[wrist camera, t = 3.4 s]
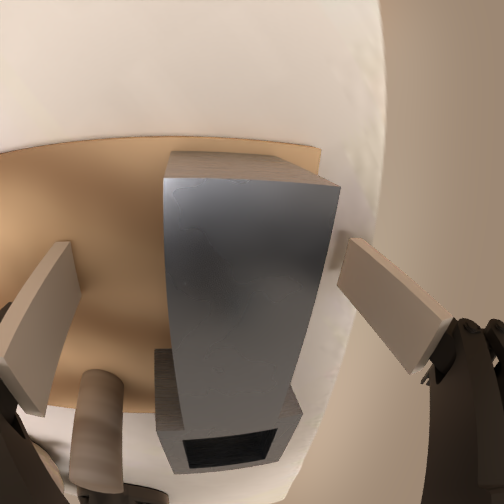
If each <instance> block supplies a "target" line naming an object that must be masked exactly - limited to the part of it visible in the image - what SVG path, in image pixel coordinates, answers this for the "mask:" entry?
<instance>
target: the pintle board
mask: <svg viewBox="0 0 504 504" xmlns="http://www.w3.org/2000/svg"><path fill="white" fill-rule="evenodd" d="M171 151H208V152H231V153H248V154H261V155H273V156H277V157H279V158H281V159H284V160H286V161H288V162H290V163H293V164H295V165H297V166H299V167H301V168H303V169H306V170H308V171H310V172H312V173H314V174H316V175H318V168H319V162H320V155H321V149H319V148H315V147H312V146H305V145H297V144H289V143H281V142H272V141H262V140H250V139H237V138H220V137H193V136H150V137H123V138H107V139H95V140H84V141H75V142H66V143H58V144H51V145H44V146H38V147H32V148H26V149H21V150H16V151H11V152H6V153H1V154H0V310H1V309H2V308H3V307H4V306H5V305H6V304H7V303H8V302H13V301H14V299H15V298H16V296H17V295H18V293H19V292H20V290H21V289H22V287H23V286H24V284H25V283H26V281H27V280H28V278H29V277H30V275H31V274H32V273H33V271H34V270H35V268H36V267H37V266H38V264H39V263H40V261H41V260H42V259H43V257H44V256H45V255H46V253H47V252H48V251H49V250H50V248H51V247H52V246H53V244H54V243H55V242H65V241H70V242H71V248H72V253H73V259H74V264H75V268H76V273H77V278H78V282H79V286H80V290H81V294H82V296H81V299H80V301H79V304H78V306H77V309H76V312H75V314H74V317H73V320H72V322H71V325H70V328H69V331H68V334H67V337H66V340H65V343H64V346H63V349H62V352H61V355H60V358H59V362H58V365H57V369H56V372H55V376H54V379H53V383H52V387H51V391H50V395H49V399H48V404H47V405H52V406H59V407H66V408H74V409H76V411H75V418H74V425H73V433H72V442H71V452H70V465H69V480H70V481H71V482H72V483H74V484H75V485H77V486H80V487H82V488H85V489H88V490H92V491H97V492H102V493H112V494H116V493H122V492H123V491H124V489H123V468H122V420H123V412H128V413H155V386H154V350H155V349H170V348H172V345H171V336H170V327H169V316H168V305H167V292H166V277H165V258H164V228H163V178H164V174H165V171H166V167H167V164H168V160H169V157H170V153H171Z"/></svg>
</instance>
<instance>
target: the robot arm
mask: <svg viewBox="0 0 504 504" xmlns="http://www.w3.org/2000/svg"><path fill="white" fill-rule="evenodd" d="M337 286H338V287H339V289H340V290H341V291H342V292H343V293H344V294H345V296H346V297H347V298H348V299H349V300H350V302H351V303H352V304H353V305H354V306H355V308H356V309H357V310H358V311H359V312H360V314H361V315H362V316H363V317H364V318H365V320H366V321H367V322H368V323H369V324H370V326H371V327H372V328H373V329H374V331H375V332H376V333H377V334H378V336H379V337H380V338H381V339H382V341H383V342H384V343H385V344H386V346H387V347H388V348H389V349H390V350H391V352H392V353H393V354H394V355H395V357H396V358H397V359H398V361H399V362H400V363H401V365H402V366H403V367H404V368H405V370H406V371H407V372H408V374H409V375H411V374H414V373H416V372H419V371H421V370H422V369H423V368H424V366H425V365H426V363H427V362H428V360H429V359H430V361H431V362H432V363H433V364H432V366H431V367H430V368H429V370H428V371H427V373H426V374H425V376H424V377H423V379H422V380H421V384H423V383H424V382H425V380H426V379H427V378H429V381H428V382H427V383H426V385H428V386H430V427H429V445H428V457H427V467H426V475H425V483H424V489H423V495H422V501H421V504H504V323H503V322H502V321H500V320H497V319H491V320H490V321H489V323H488V324H487V326H486V328H485V329H481V328H480V326H478V325H477V324H476V323H474V322H473V321H472V320H469V319H466V318H462V319H459V321H457V320H456V319H455V318H454V317H453V316H452V315H451V314H450V313H449V312H448V311H447V310H446V309H445V308H444V307H442V306H441V305H440V304H439V303H438V302H437V301H436V300H435V299H434V298H433V297H431V296H430V295H429V294H428V293H427V292H426V291H425V290H424V289H423V288H421V287H420V286H419V285H418V284H417V283H416V282H415V281H413V280H412V279H411V278H410V277H409V276H408V275H406V274H405V273H404V272H403V271H402V270H400V269H399V268H398V267H397V266H396V265H394V264H393V263H392V262H391V261H390V260H388V259H387V258H386V257H385V256H383V255H382V254H381V253H380V252H378V251H377V250H376V249H375V248H373V247H372V246H371V245H370V244H368V243H367V242H366V241H365V240H363V239H362V238H349V242H348V246H347V250H346V254H345V257H344V261H343V265H342V268H341V272H340V276H339V279H338V283H337ZM81 296H82V294H81V290H80V286H79V282H78V278H77V273H76V268H75V264H74V259H73V253H72V248H71V242H70V241H65V242H55V243H54V244H53V246H52V247H51V248H50V250H49V251H48V252H47V253H46V255H45V256H44V257H43V259H42V260H41V261H40V263H39V264H38V266H37V267H36V268H35V270H34V271H33V273H32V274H31V275H30V277H29V278H28V280H27V281H26V283H25V284H24V286H23V287H22V289H21V290H20V292H19V293H18V295H17V296H16V298H15V299H14V301H13V302H8V303H7V304H6V305H5V306H4V307H3V308H2V309H1V310H0V504H70V503H69V502H68V501H67V499H66V498H65V497H64V495H63V494H62V492H61V491H60V489H59V488H58V486H57V485H56V483H55V482H54V480H53V479H52V477H51V475H50V474H49V472H48V471H47V469H46V467H45V466H44V464H43V462H42V460H41V459H40V457H39V455H38V453H37V451H36V449H35V447H34V446H33V444H32V442H31V440H30V438H29V436H28V434H27V431H26V429H25V427H24V425H23V423H22V421H21V418H20V417H19V415H18V414H17V412H16V408H17V405H18V404H19V405H20V407H21V408H22V409H23V410H24V412H25V413H26V414H30V415H35V416H40V417H45V413H46V408H47V404H48V399H49V395H50V391H51V387H52V383H53V379H54V376H55V372H56V369H57V365H58V362H59V358H60V355H61V352H62V349H63V346H64V343H65V340H66V337H67V334H68V331H69V328H70V325H71V322H72V320H73V317H74V314H75V312H76V309H77V306H78V304H79V301H80V299H81ZM496 356H497V358H498V360H499V362H498V364H497V365H496V366H495V367H493V363H492V362H493V361H494V359H495V358H496ZM123 489H124V491H123V492H122V493H116V494H112V493H102V492H97V491H92V490H88V489H85V488H82V487H80V486H77V495H78V498H79V501H80V504H169V498H168V495H166V494H165V493H163V492H160V491H157V490H153V489H149V488H144V487H139V486H133V485H127V484H123Z"/></svg>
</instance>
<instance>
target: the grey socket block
mask: <svg viewBox="0 0 504 504" xmlns="http://www.w3.org/2000/svg"><path fill="white" fill-rule="evenodd" d="M340 189H341V187H340V186H338V185H336V184H334V183H332V182H330V181H328V180H326V179H324V178H322V177H320V176H318V175H316V174H314V173H312V172H310V171H308V170H306V169H303V168H301V167H299V166H297V165H295V164H293V163H290V162H288V161H286V160H284V159H281V158H279V157H277V156H273V155H261V154H248V153H231V152H208V151H171V153H170V157H169V160H168V164H167V167H166V171H165V174H164V178H163V228H164V258H165V277H166V292H167V305H168V316H169V327H170V336H171V345H172V348H170V349H155V350H154V386H155V417H156V432H157V434H158V437H159V439H160V442H161V444H162V447H163V449H164V452H165V454H166V456H167V459H168V461H169V463H170V466H171V468H172V470H173V472H174V474H191V473H205V472H216V471H224V470H232V469H239V468H246V467H252V466H257V465H263V464H268V463H273V462H277V461H279V459H280V457H281V456H282V454H283V452H284V450H285V448H286V446H287V444H288V442H289V441H290V439H291V437H292V435H293V433H294V431H295V429H296V427H297V425H298V423H299V421H300V419H301V417H302V414H303V412H302V410H301V408H300V406H299V403H298V401H297V399H296V397H295V394H294V392H293V390H292V388H291V385H290V382H291V379H292V376H293V373H294V370H295V367H296V364H297V361H298V358H299V354H300V351H301V348H302V345H303V341H304V338H305V335H306V331H307V328H308V324H309V321H310V317H311V314H312V310H313V306H314V303H315V299H316V295H317V291H318V287H319V284H320V280H321V276H322V272H323V268H324V263H325V259H326V255H327V251H328V246H329V242H330V238H331V233H332V228H333V224H334V219H335V214H336V209H337V204H338V199H339V194H340Z"/></svg>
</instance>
